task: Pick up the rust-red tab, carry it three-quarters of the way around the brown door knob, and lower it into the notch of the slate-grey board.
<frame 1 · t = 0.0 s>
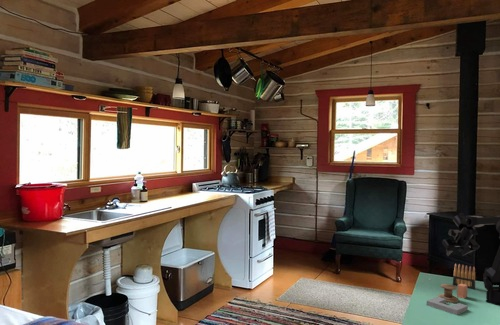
hand: (454, 255, 228), 15 cm above the table, tool tilted 35°, fingers open, 9 cm apart
notched board: (446, 307, 189), on the table
tab: (462, 296, 204), on the table
ammunition clip: (463, 287, 220), on the table
brown door knob: (447, 299, 199), on the table
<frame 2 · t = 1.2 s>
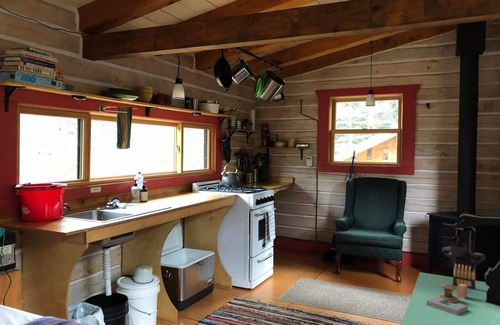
hand: (462, 270, 204), 13 cm above the table, tool pointing down, fingers open, 9 cm apart
nothing on the table moved.
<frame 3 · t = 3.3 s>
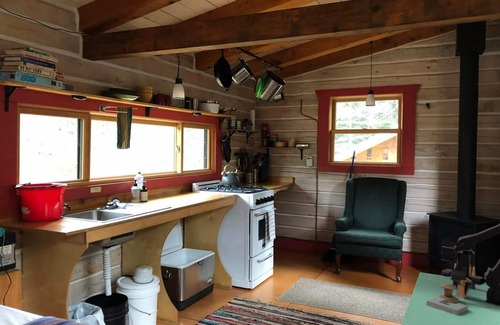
hand: (462, 293, 204), 2 cm above the table, tool pointing down, fingers closed on tab, 3 cm apart
tab: (462, 296, 204), on the table, touching gripper
everything else where it was.
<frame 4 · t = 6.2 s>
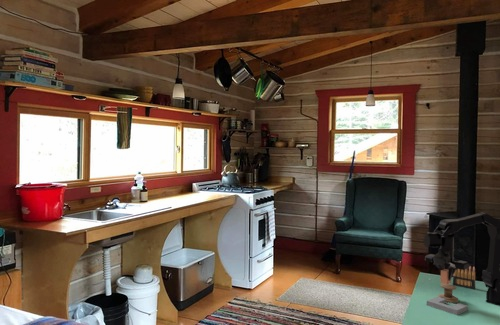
hand: (445, 279, 194), 11 cm above the table, tool pointing down, fingers closed on tab, 3 cm apart
tab: (445, 282, 194), point 10 cm above the table, touching gripper
everything else where it was.
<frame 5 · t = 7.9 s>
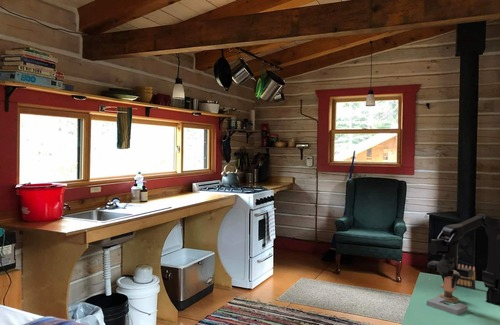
hand: (449, 287, 189), 9 cm above the table, tool pointing down, fingers closed on tab, 3 cm apart
tab: (449, 290, 189), point 8 cm above the table, touching gripper
everything else where it was.
when the fingers open (3 cm above the table, at t = 9.1 s): tab drops 2 cm, on the table.
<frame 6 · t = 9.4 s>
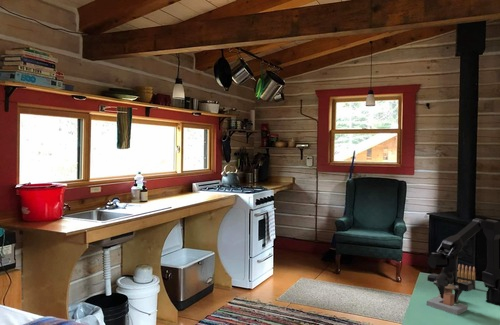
hand: (448, 300, 190), 3 cm above the table, tool pointing down, fingers open, 6 cm apart
tab: (448, 306, 190), on the table
everything else where it was.
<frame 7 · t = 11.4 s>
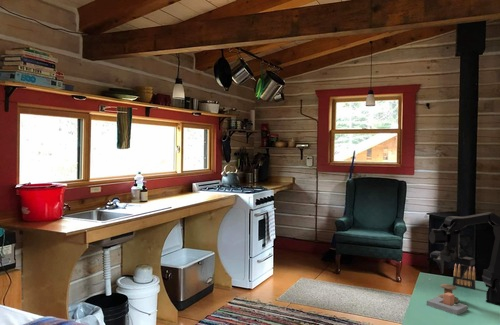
hand: (451, 276, 195), 13 cm above the table, tool pointing down, fingers open, 9 cm apart
nothing on the table moved.
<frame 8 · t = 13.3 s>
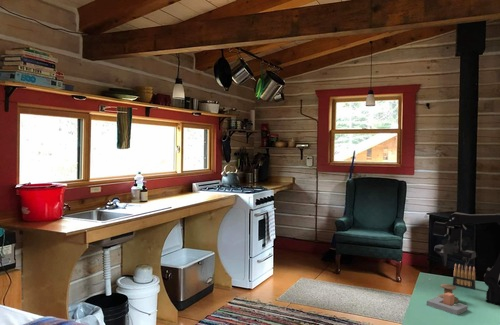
hand: (454, 268, 208), 13 cm above the table, tool pointing down, fingers open, 9 cm apart
nothing on the table moved.
at the end: tab 0.0 cm from the target spot on the notched board, point 0.0 cm above the notched board's base; tab tilted 0°; the gripper is holding nothing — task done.
